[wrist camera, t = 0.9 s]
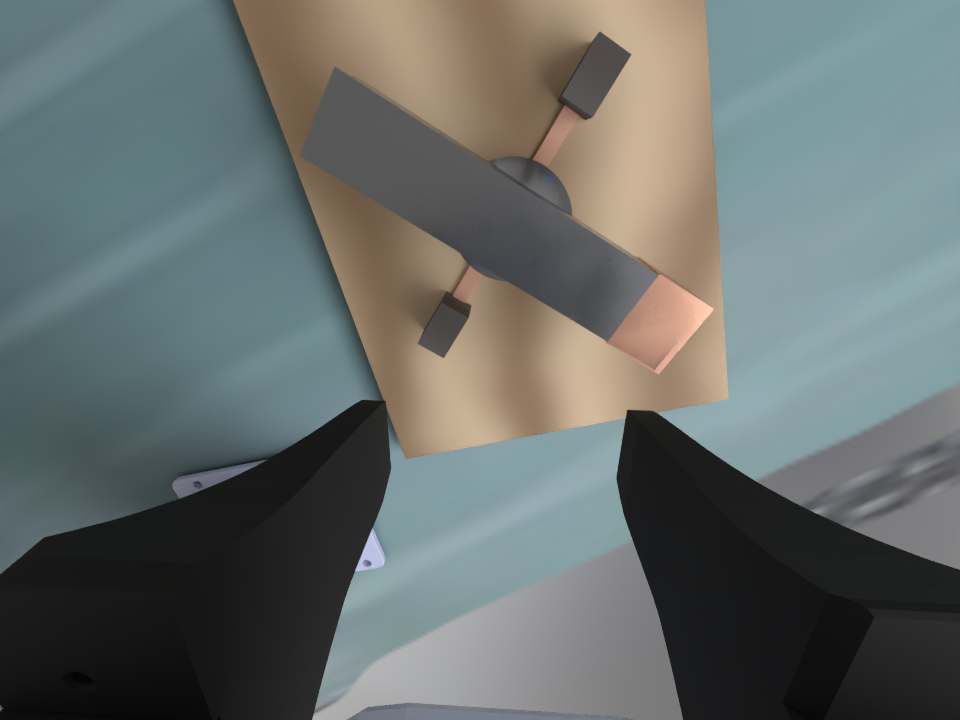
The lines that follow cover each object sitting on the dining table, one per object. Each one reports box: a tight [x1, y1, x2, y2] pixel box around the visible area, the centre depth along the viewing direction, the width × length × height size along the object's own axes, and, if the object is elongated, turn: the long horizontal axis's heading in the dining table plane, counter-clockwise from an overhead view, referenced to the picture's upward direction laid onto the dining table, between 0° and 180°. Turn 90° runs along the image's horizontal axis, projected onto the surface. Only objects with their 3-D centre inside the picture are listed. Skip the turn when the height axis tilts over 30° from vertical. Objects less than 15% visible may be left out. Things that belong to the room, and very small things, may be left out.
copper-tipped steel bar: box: [300, 67, 714, 374], centre depth 15 cm, size 12×4×4 cm, turn 59°
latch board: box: [233, 0, 728, 459], centre depth 18 cm, size 15×20×3 cm
